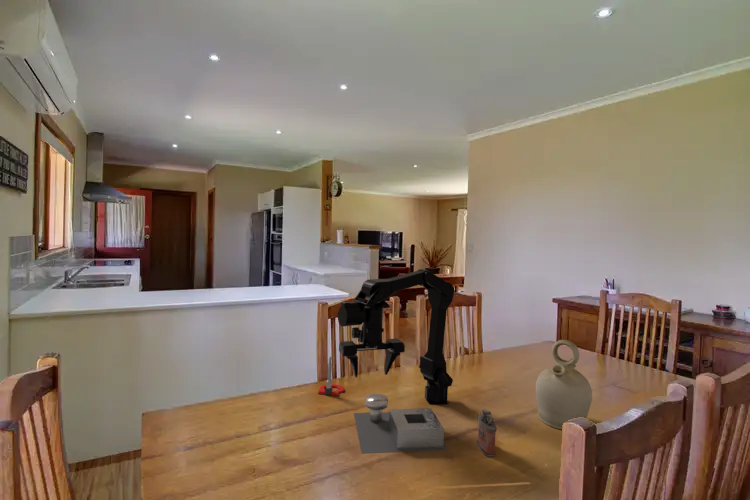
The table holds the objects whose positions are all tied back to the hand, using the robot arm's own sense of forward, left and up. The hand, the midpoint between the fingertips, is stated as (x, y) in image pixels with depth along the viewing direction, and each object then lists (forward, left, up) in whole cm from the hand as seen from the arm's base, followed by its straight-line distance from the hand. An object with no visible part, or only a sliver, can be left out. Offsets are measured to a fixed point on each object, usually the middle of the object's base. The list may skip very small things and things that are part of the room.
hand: (371, 375), depth 120 cm
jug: (-57, +6, -13) cm, 59 cm away
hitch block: (-10, +13, -12) cm, 21 cm away
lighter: (-27, +20, -13) cm, 36 cm away
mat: (-6, +9, -12) cm, 17 cm away
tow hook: (+11, -20, -13) cm, 26 cm away
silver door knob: (-1, +3, -12) cm, 12 cm away
